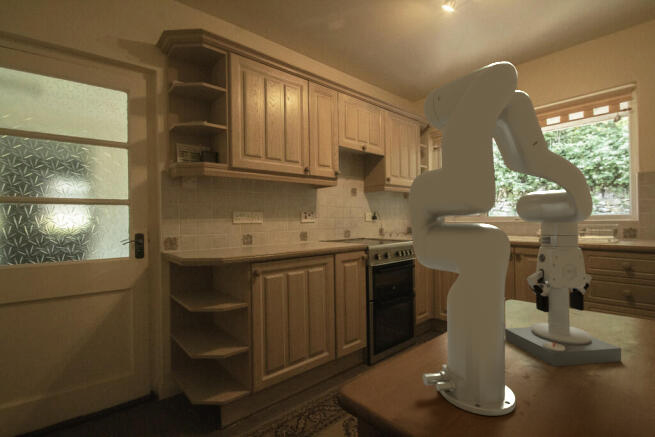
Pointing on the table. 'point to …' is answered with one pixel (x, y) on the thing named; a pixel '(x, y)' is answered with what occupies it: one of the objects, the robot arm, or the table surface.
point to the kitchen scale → (562, 346)
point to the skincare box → (559, 311)
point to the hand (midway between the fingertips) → (559, 309)
